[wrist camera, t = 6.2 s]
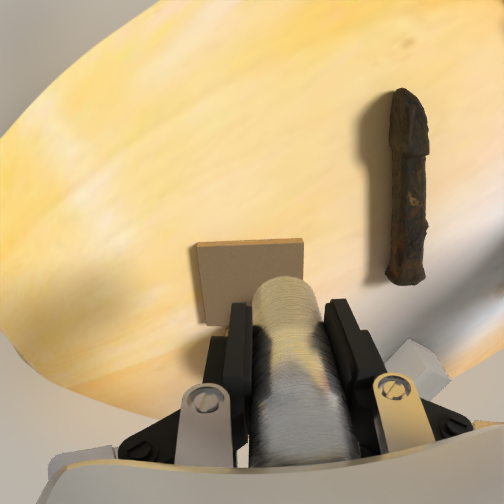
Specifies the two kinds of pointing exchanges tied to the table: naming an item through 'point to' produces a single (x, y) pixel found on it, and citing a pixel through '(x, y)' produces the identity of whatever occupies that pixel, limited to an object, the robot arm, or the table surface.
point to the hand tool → (408, 188)
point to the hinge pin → (295, 382)
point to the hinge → (243, 271)
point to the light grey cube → (419, 368)
